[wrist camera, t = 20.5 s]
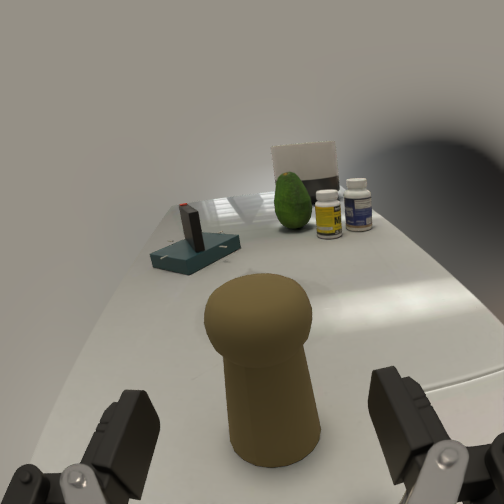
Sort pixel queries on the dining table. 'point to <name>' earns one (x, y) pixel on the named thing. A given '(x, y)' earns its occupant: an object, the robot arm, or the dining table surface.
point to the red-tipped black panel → (192, 227)
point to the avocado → (292, 201)
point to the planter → (308, 165)
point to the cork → (265, 367)
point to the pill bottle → (358, 205)
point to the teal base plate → (194, 253)
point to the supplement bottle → (328, 214)
